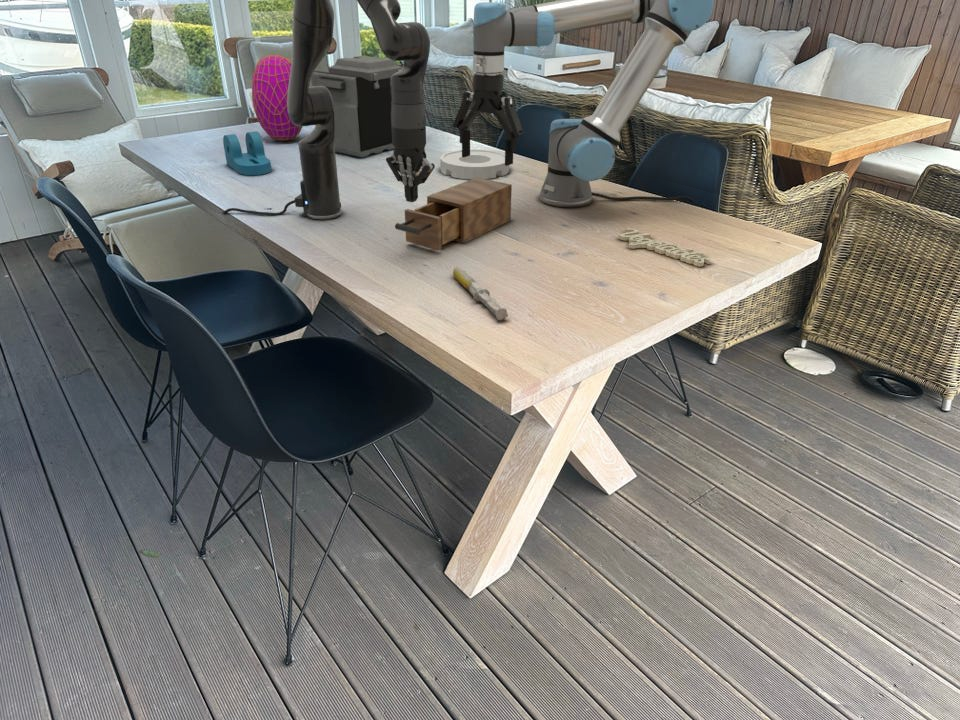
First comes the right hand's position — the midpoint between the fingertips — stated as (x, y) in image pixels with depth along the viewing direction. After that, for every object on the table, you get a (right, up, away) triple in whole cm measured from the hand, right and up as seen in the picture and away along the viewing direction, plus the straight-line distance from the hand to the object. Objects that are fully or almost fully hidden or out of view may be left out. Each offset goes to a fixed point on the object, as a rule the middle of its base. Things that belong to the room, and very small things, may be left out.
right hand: (487, 160), depth 179 cm
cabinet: (-4, -17, +3) cm, 18 cm away
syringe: (-2, -39, -34) cm, 52 cm away
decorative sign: (+42, -25, -10) cm, 50 cm away
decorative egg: (-77, +33, +85) cm, 120 cm away
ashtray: (-4, +12, +51) cm, 53 cm away
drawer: (-12, -21, -7) cm, 25 cm away
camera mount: (-78, +12, +50) cm, 94 cm away
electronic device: (-43, +28, +79) cm, 94 cm away
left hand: (-18, -15, -20) cm, 31 cm away
